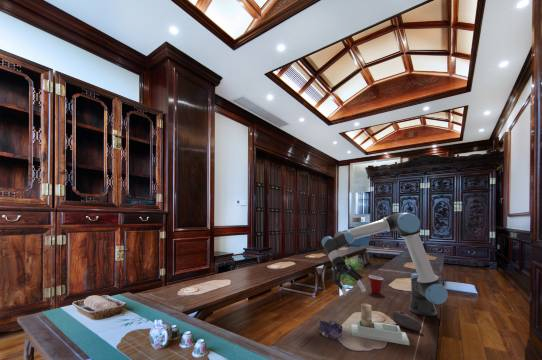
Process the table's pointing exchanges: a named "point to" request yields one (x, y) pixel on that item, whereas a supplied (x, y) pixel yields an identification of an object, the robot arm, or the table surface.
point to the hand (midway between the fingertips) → (355, 292)
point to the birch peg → (366, 315)
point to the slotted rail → (381, 332)
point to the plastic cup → (375, 284)
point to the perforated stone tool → (406, 321)
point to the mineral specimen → (330, 329)
